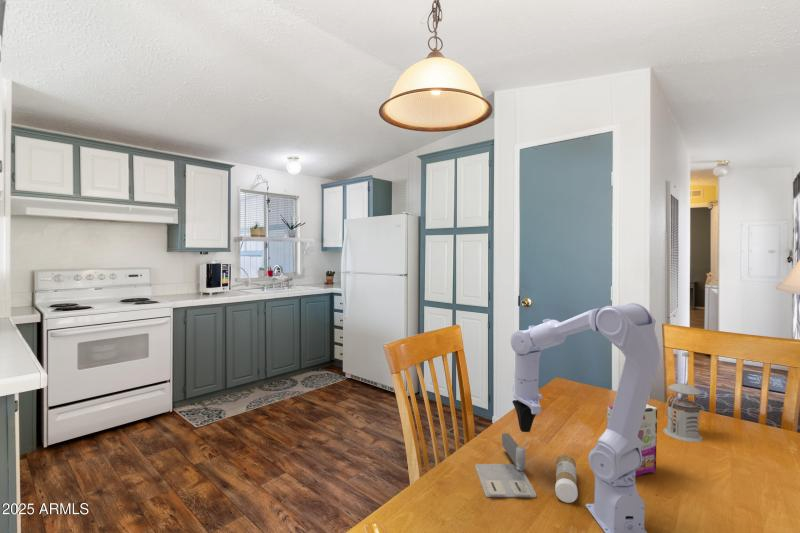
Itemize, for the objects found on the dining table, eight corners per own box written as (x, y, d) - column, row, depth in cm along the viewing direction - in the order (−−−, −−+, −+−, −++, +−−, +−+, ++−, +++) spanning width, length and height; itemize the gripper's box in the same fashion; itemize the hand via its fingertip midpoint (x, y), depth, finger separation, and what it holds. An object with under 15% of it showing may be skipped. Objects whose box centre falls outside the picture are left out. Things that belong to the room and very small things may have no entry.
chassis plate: (536, 498, 89) (536, 493, 89) (486, 498, 89) (486, 492, 89) (519, 468, 101) (519, 463, 101) (475, 467, 101) (475, 462, 101)
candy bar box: (639, 462, 105) (642, 400, 104) (656, 473, 100) (659, 408, 99) (603, 468, 102) (606, 404, 101) (619, 479, 97) (622, 412, 96)
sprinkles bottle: (563, 474, 100) (563, 507, 88) (552, 458, 101) (550, 487, 89) (580, 467, 99) (582, 498, 86) (568, 450, 99) (569, 479, 87)
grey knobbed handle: (517, 470, 98) (518, 451, 97) (501, 446, 110) (501, 428, 109) (526, 470, 98) (526, 450, 98) (509, 445, 110) (509, 428, 110)
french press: (710, 438, 119) (714, 354, 117) (684, 445, 114) (688, 358, 113) (677, 425, 128) (680, 347, 127) (651, 430, 123) (654, 350, 122)
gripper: (554, 387, 94) (552, 444, 94) (531, 368, 108) (530, 418, 109) (524, 387, 93) (523, 444, 94) (505, 368, 108) (504, 418, 109)
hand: (525, 430), depth 101 cm, fingers closed
